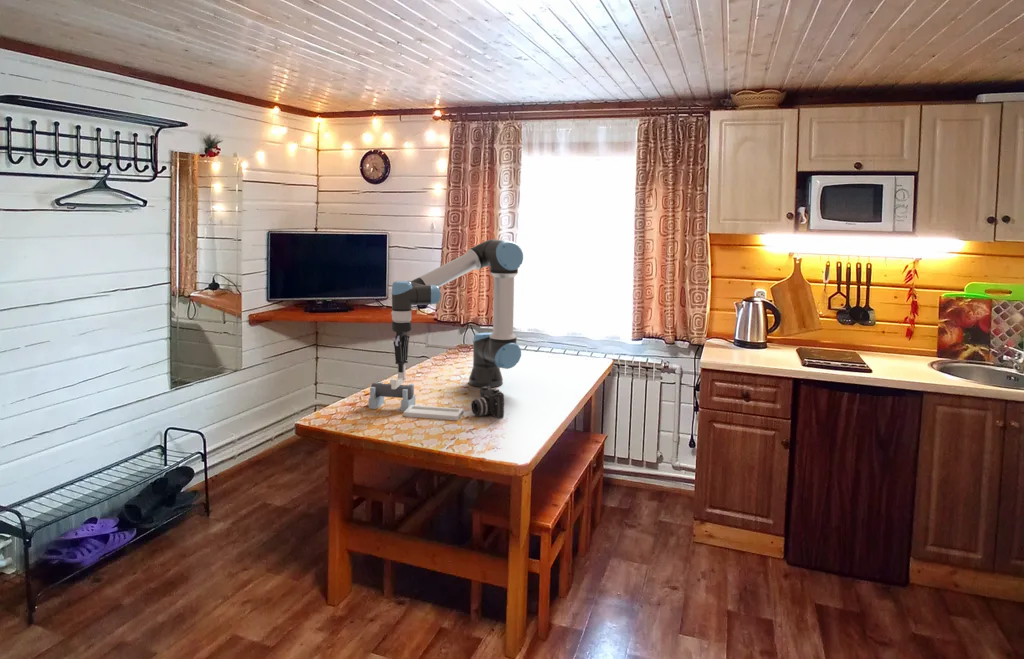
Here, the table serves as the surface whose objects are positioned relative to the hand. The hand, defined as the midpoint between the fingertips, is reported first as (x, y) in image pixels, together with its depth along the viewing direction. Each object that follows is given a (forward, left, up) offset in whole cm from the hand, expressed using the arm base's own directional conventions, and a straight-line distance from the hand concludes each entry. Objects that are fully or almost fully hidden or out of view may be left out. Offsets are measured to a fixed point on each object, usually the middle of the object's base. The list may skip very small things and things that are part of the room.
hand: (401, 379), depth 275 cm
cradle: (+3, +3, -10) cm, 11 cm away
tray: (-16, +9, -10) cm, 21 cm away
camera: (-35, +4, -11) cm, 37 cm away
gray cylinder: (+3, +3, -6) cm, 8 cm away
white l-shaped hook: (0, +6, -1) cm, 6 cm away
